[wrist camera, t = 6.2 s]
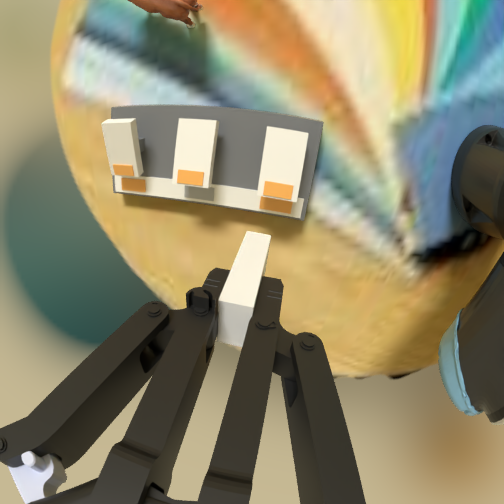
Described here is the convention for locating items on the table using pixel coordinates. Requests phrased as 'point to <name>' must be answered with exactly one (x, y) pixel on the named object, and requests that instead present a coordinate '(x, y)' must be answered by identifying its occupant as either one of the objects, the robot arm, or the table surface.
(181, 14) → the bull figurine
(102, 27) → the table surface
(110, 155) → the switch
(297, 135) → the switch
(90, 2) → the table surface
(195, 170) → the switch middle
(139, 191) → the switch panel
